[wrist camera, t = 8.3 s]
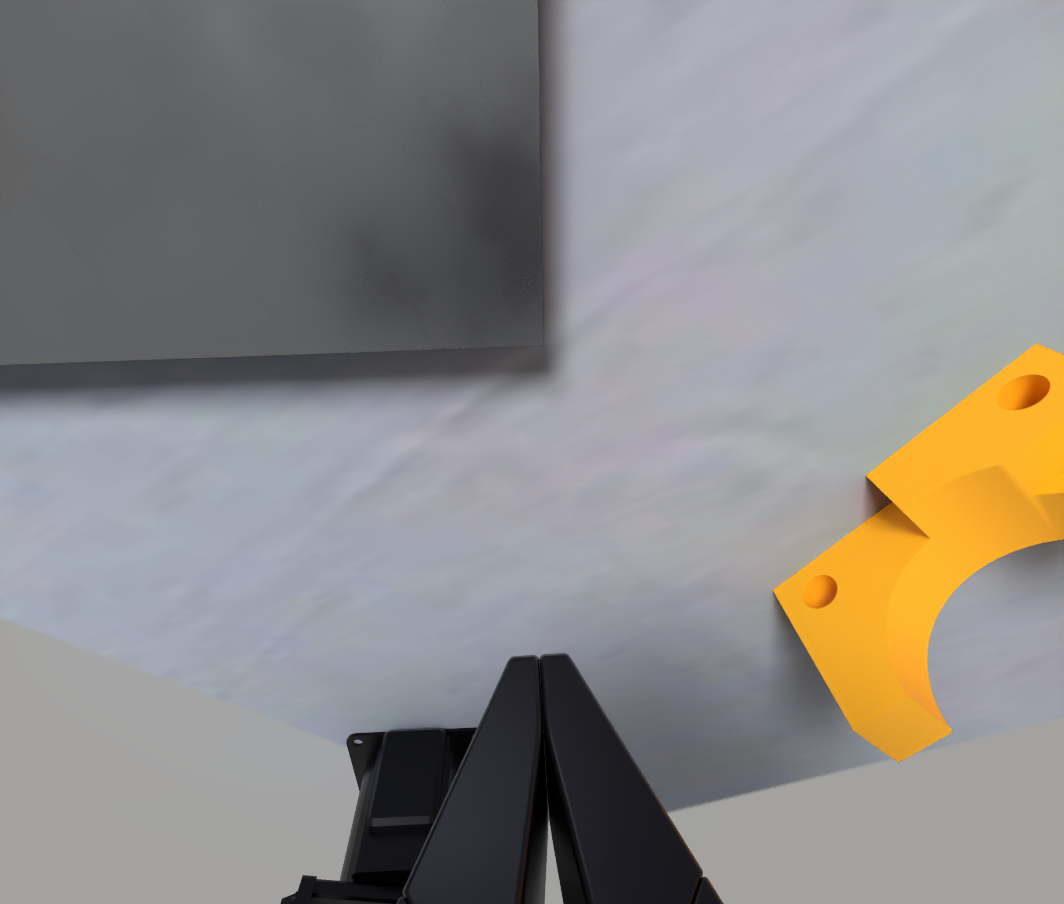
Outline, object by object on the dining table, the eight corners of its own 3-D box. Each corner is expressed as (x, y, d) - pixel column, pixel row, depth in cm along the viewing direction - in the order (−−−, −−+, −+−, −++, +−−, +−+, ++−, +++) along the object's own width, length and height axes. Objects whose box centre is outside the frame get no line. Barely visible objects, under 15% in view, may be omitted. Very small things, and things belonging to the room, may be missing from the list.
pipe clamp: (1032, 341, 19) (1251, 431, 14) (1089, 419, 21) (1309, 529, 15) (743, 566, 23) (819, 706, 18) (809, 617, 25) (898, 762, 19)
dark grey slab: (540, 324, 18) (543, 348, 16) (-262, 352, 18) (-356, 380, 16) (529, -239, 12) (533, -306, 10) (-662, -218, 12) (-887, -285, 10)
